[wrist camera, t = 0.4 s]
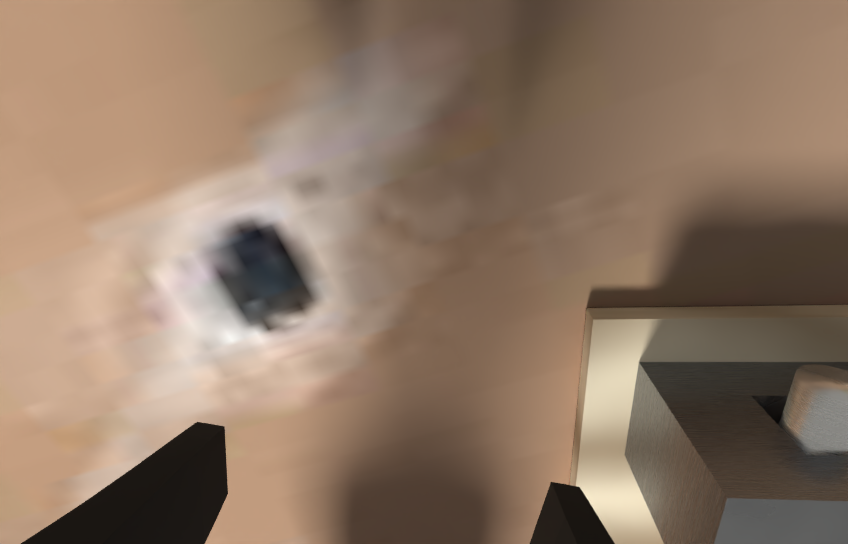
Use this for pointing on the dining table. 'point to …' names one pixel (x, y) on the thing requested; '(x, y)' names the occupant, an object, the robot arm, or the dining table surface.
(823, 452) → the shaft
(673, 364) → the shaft stand
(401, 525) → the dining table surface
